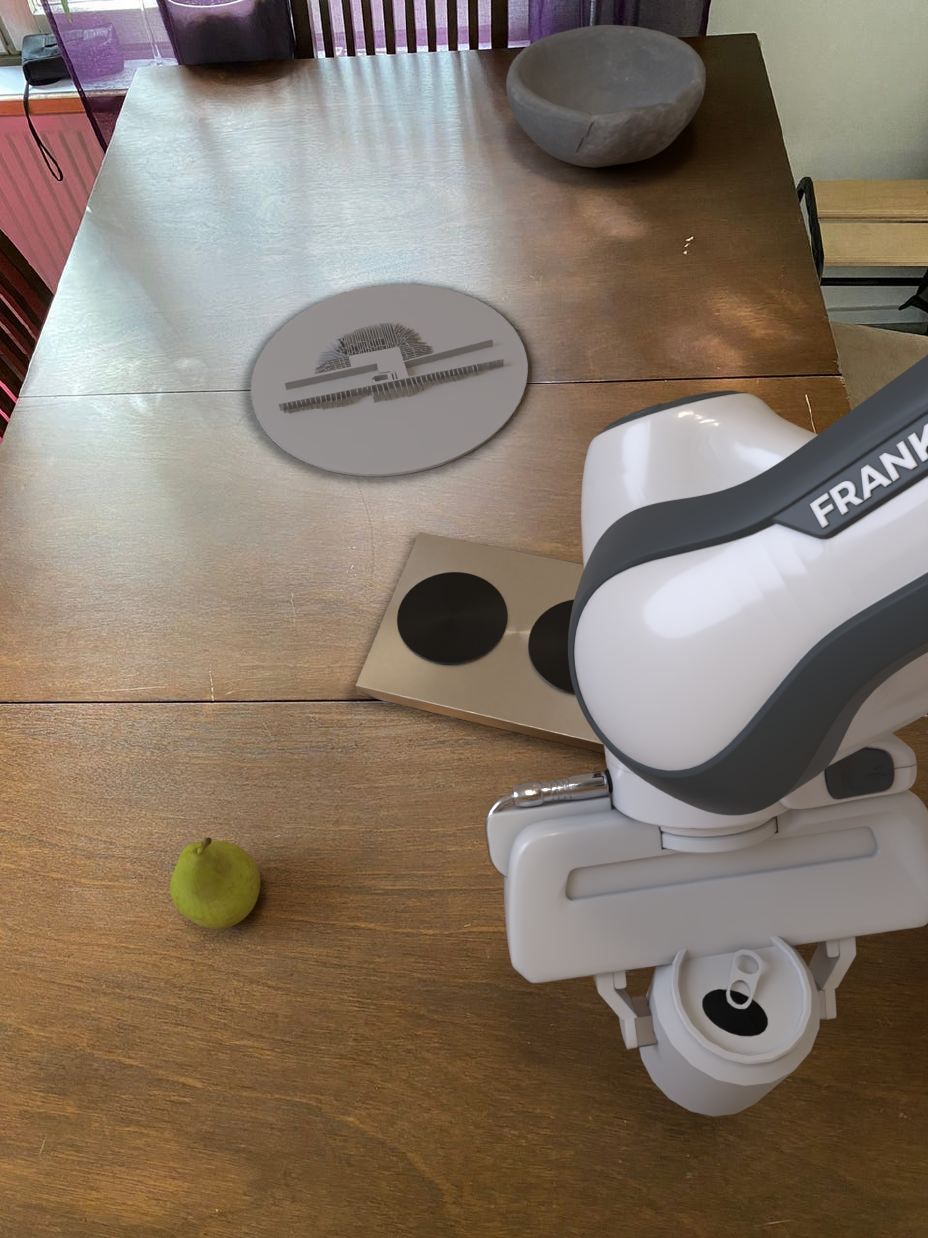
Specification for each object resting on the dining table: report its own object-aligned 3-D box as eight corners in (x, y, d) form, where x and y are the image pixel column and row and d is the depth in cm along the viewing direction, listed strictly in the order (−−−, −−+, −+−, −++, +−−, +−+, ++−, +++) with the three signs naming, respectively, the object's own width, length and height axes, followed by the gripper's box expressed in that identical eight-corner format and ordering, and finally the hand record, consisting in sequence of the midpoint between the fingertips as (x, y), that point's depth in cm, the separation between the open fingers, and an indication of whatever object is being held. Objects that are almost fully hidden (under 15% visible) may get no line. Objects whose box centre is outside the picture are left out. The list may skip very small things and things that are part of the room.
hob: (670, 592, 81) (674, 576, 79) (632, 760, 72) (635, 746, 70) (420, 542, 85) (418, 525, 83) (357, 695, 77) (353, 680, 75)
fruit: (178, 882, 69) (118, 814, 59) (256, 848, 70) (210, 776, 60) (199, 957, 66) (140, 899, 56) (281, 920, 67) (237, 857, 57)
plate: (264, 501, 89) (261, 492, 88) (241, 312, 105) (238, 303, 104) (559, 444, 91) (559, 435, 90) (493, 267, 107) (492, 257, 106)
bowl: (704, 104, 123) (716, 19, 115) (686, 206, 111) (698, 120, 103) (526, 93, 127) (526, 10, 119) (490, 191, 115) (487, 106, 107)
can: (619, 1086, 52) (637, 1039, 42) (656, 952, 56) (680, 881, 46) (759, 1143, 50) (812, 1108, 40) (788, 1000, 54) (843, 936, 44)
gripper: (483, 815, 41) (523, 1101, 44) (953, 747, 42) (966, 1035, 44) (475, 767, 48) (511, 1020, 50) (884, 708, 48) (899, 963, 50)
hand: (728, 1027), depth 47 cm, fingers closed on can, 7 cm apart
